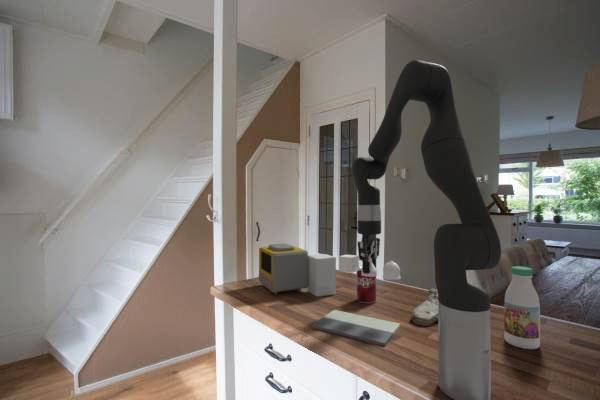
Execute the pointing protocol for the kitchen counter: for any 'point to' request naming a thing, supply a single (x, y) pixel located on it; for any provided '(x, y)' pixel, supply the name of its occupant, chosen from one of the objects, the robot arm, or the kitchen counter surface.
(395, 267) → the container set
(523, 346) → the milk bottle
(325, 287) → the supplement box
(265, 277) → the grey yellow box
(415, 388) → the kitchen counter surface
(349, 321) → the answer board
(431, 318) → the elongated rock
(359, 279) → the soda can
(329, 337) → the kitchen counter surface
